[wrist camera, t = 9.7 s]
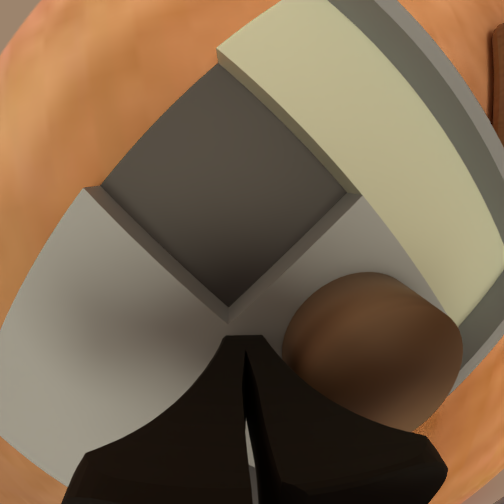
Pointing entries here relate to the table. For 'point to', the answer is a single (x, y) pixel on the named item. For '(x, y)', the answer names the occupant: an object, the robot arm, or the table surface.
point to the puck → (375, 349)
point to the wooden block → (498, 82)
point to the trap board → (258, 222)
